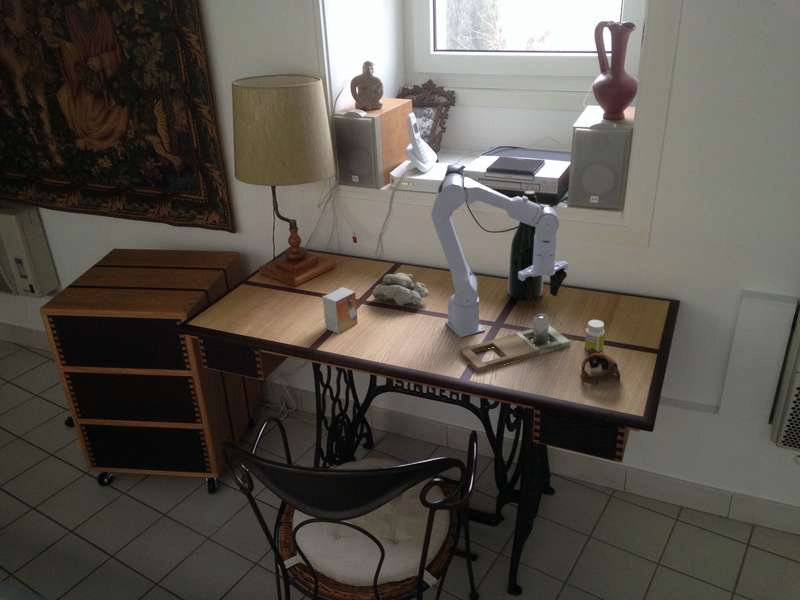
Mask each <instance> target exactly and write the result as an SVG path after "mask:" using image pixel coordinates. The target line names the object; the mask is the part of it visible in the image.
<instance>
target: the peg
mask: <svg viewBox="0 0 800 600" xmlns="http://www.w3.org/2000/svg"><path fill="white" fill-rule="evenodd" d="M549 325H550V315H548V314H546V313H537V314H534V316H533V327H532V329H533V337H532V343H533V344H535V345H536V346H537V347H538V346H542V345H545V344H549V338H548V331H549Z"/></svg>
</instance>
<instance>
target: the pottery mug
mask: <svg viewBox="0 0 800 600" xmlns="http://www.w3.org/2000/svg"><path fill="white" fill-rule="evenodd" d="M587 352H588V353H587V356H586V357H585V358H584V360H583V361H582V363H581V366H580V367H581V370H580V371H581V373H580V380H581V382H582V383H583V384H588V385H591V386H598V385H599V386H600V385H603V384H606V383H613V381H612V380H613V379H612V377H611V375H616V376H617V378H618V380H619V381H620V380H621V373H620V370H619V368H618V363H617V362H616V361H615V359H614V358H612V357H610V356H608V355H606V354H604V353H598V352H597V351H596V350H595V349H594V348H590V349H588V350H587ZM588 363H589V366H590V369H597V368H598V367H599V366H600V367H601V371H602V372H603V373H602V374H600V375H599V374H598V375H593V374H589V373H588V371H586V365H587V364H588Z"/></svg>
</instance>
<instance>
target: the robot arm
mask: <svg viewBox="0 0 800 600" xmlns="http://www.w3.org/2000/svg"><path fill="white" fill-rule="evenodd" d="M522 196H523V195H522ZM522 196H519V195H518V196H514V197H509V196H507V195H505V194H503V193H501V192H498V191H497V190H494V189H493V188H490V187H488V186H486V185H484V184H482V183H480V182H478V181H475V180H474V179H472V178H470V177H467V176H463V175H461V174H458V173H451V174H450V173H449V174H448V175H446V176H445V177H444V178H443V179H442V181H441V182H440V184H439V185H438V187H437V192H436V195H435V199H434V202H433V206H432V210H431V217H430V218H431V220H432V223H433V226H434V229H435V231H436V233H437V237H438V240H439V244H440V245H441V248H442V251H443V253H444V257H445V259H446V262H447V265H448V268H449V270H450V273H451V279H452V284H453V288H454V294H452V295H451V296H450V298H449V300H448V301H447V320H446V321H445V322H444V323H445V325H447V327H449V328H450V329H451V330H452V331H453V332H454V333H455V334H456V335H457V336H458V337H459V338H465V337H467V336H471V335H474V334H479V333H482V332H485V331H486V329H485V328H484V327H483V326H482V325H481V324H480V297H479V295H478V283H479V282H478V277H477V276H476V275H475V274H474V273H473V272H472V271H471V268H470V266H469V264H468V263H467V261H466V257H465V254H464V251H463V248H462V246H461V243H460V240H459V237H458V234H457V232H456V228H455V225H454V222H453V219H452V215H453V213H454V212H455V211H456V210H457V209H458V208H460V207H462V205H464V203H465V202H466V205H471V204H472V203H475V202H481V203H484V204H487V205H489V206H493V207H496V208H498V209H501V210H504V211H506V212H507V216H508V217H509V218H511V219H512V220H513V219H514V220H516V221H518V222H523V223H525V224H528V225H530V226H535V227H536V229H535V236H534V251H533V265H532V266H530V267H528V268H527V269H525V270H523V271H520V272H518V278H519V279H520V281H521V283H522V285H523V287H524V290H525V293H526V298H527V300H528V302H529V303H531V304H532V303H533V302H534V291H535V287H536V284H537V283H536V282H535V281H534V279H533V277H535V276H539V275H543V276H548V277H549V281H550V282H549V294H550V295H552V297H557V295H558V293H559V290H560V288H561V286H562V284H563V283H564V280H566V278H567V277H568V273H567V272H566V271H567V270H568V268H569V263H568V262H566V261H565V260H562V261H556V250H557V231H558V229H559V228H560V223H559V218H558V214H557V211H556V210H555V209H554V208H553V207H552V206H550V205H549V204H542V203H541V204H538V203H537V204H536V203H533V202H531V201H529V200H528V198H527V197H525V196H523V197H522Z"/></svg>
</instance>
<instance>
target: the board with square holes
mask: <svg viewBox="0 0 800 600" xmlns="http://www.w3.org/2000/svg"><path fill="white" fill-rule="evenodd" d="M531 336H533V328H530V329H526V330H524V331H517V332H515V333H512V334H509V335H505V336H501V337H499V338H495V339H491V340H488V341H483V342H480V343H476V344H473V345H469V346H466V347H462V348H459V350H458V352H459V355H460V357H462V358H463V359H464V360H465V361H466V363H468V364H469V366H470V367H472V368H473V369H474V370H475V371H476V373H478V372H479V373H481V371H482V372H485V371H489V370H492V369H494V368H495V367H496V368H499V367H502V366H505V365H504V364H506V365H508V364H507V363H509V364H512V363H511V362H513V363H515V362H514V361H516V362H519V361H522V360H521V359H523V360H525V358H526V359H528V358H527V357H530V358H532V357H531V356H533V357H535V356H534V355H536V356H539V355H538V354H540V355H542V354H541V353H543V354H545V352H547V353H549V352H548V351H550V352H553V351H556V349H557V350H560V349H563V348H567V347H569V346H571V345H570V343H571V340H569V339H568V338H566V337H565V336H564V335H563V334H561V332H559V331H558V330H556V329H555V328H553V326H551V325H550V324H549V331H548V337H549V338H548V339H550V340H551V342H548V344H545V345H542V346H535V345H534V344H533V341H530V339H529V338H527V337H530V338H532V337H531ZM553 341H554V342H553ZM566 346H567V347H566ZM492 347H494V348H495V349H496V350H497V351H498V352H499V353H500V354H501V355H500V354H499V353H498V352H497V351H496V350H495V349H494V348H492ZM488 348H491V349H494V350H495V351H496V352H497V353H498V354H499V355H500V356H501V357H498V358H494V359H490V360H488V361H487V360H486V361H483V360H482V359H481V358H480V357H479V356H477V355H476V354H477V353H479V351H480V352H482V350H484V351H486V350H485V349H487V350H489V349H488ZM552 350H553V351H552ZM476 352H477V353H476ZM518 360H519V361H518ZM501 365H502V366H501ZM488 369H489V370H488Z"/></svg>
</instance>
